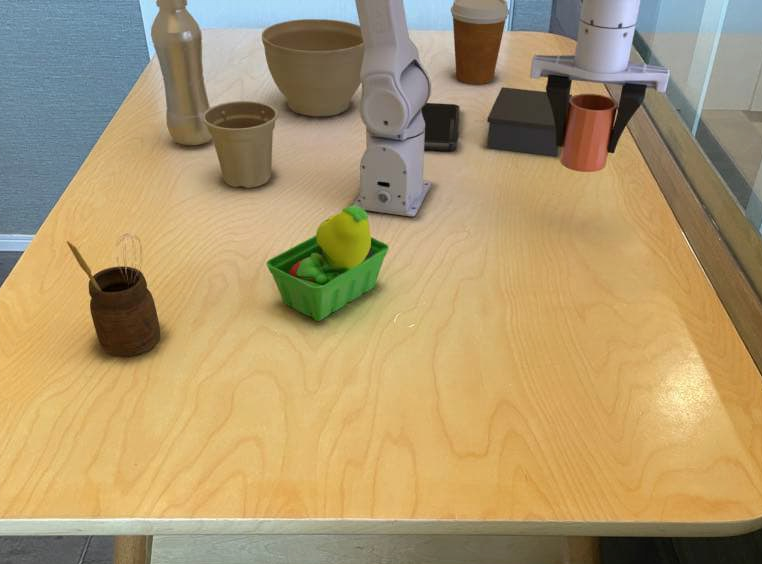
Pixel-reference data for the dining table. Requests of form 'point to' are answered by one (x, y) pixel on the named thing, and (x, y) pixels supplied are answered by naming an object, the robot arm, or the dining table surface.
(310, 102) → the planter bowl
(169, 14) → the plastic bottle
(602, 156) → the cup
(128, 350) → the utensil holder
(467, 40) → the disposable coffee cup
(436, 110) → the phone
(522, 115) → the container
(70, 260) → the dining table surface
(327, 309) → the fruit basket
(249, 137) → the flower pot
